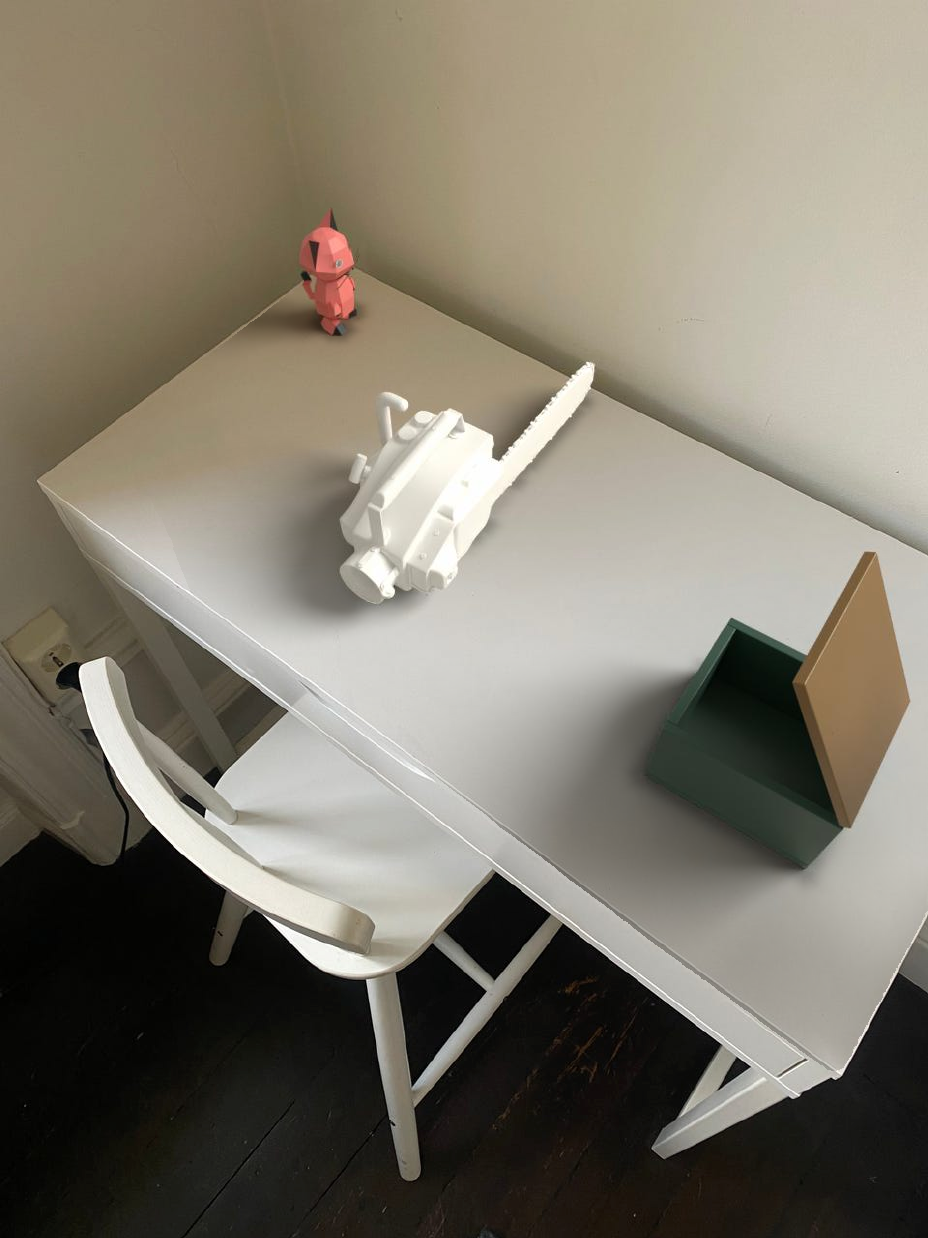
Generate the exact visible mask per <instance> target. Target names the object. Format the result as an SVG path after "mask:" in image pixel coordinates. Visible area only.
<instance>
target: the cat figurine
mask: <svg viewBox="0 0 928 1238" xmlns="http://www.w3.org/2000/svg"><path fill="white" fill-rule="evenodd" d="M337 226H338V225H337V223H336V220H335V216H334V212H333V209H332V207H329V209H328V211H327V212H326V213H325V215H324V217H323V218H322V219H321V221H320V223H319V224H318V226H317V227H316V228H315V229H314V230H313V231H312V232H310V233H309V234H307V235H306V236H305V237H304V238H302V241H301V244H300V248H299V260H298V263H299V265H300V266H301V267H302V268H303V269H304V270H302V271H301V272H300V274H299V275H300V277H301V278H302V280H303V281H302V284H301V285H302V287H303V289H304V291H305V293H306V295H307V297H308V298H309V299H310V300H313V301H314V303H315V304H314V305H315V309H316V312H317V313H316V314H318V315H321V316H323V317H322V319H321V322H320V325H321V327H322V329H323V330H325V332H327V333H328V334H330V335H331V336H344V335H345V334H346V333H347V332H348V330H347V327H346V326H345V324H344V323H343V322H342V320H341V319H345V320H346V319H351V318H353V317H355V316H357V315H358V310H357V309H356V308H355V297H354V296H355V294H354V292H355V291H356V286H355V281H354V278H352V277H349V276H350V274H351V273H352V271H354V269H355V267H356V266H355V267H354V265H355V263H358V260H359V257H360V255H358V254H360V253H359V248H357V250H356V252H357V253H356V255H355V258H356V260H355V262H354V257H353V252H352V249H351V246H350V245H351V242H350V241H349V242H348V241H347V239H346V237H345V235H344V234H342V233H341V232H339V230H338V227H337ZM357 255H358V256H357ZM351 270H352V271H351ZM309 274H310V275H312V276H313V277H315V278H316V279H315V284H314V291H313V290H312V286H311V283H312V281H313V280H312V277H311V276H310V275H309Z"/></svg>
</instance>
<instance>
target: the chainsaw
mask: <svg viewBox="0 0 928 1238" xmlns="http://www.w3.org/2000/svg"><path fill="white" fill-rule="evenodd" d="M595 366H596V364H595V363H593V362H591V361H586V362H585V364H584V365H582V366H581V368H579V369H577V370H576V371H575V374H571V376H570V377H571V378H570V379H569V380H568V381H566V382H565V384H564V386H562V387H561V389H560V390H559V391H557V392H556V393H555V396H552V397H551V398H550V400H551V401H549V402H548V404H546V405H545V407H544V408H543V410H542V411H541V412H540V413H539V414H538V415H536V417H535V418H534V420H531V421H530V422H529V424H530V425H529V426H528V427H527V428H525V429H524V430H523V433H521V435H520V436H519V438H518V439H517V440H515V441H514V442H513V443H512V446H509V447H508V448H507V451H506V452H505V454H503V455H502V456H501V458H500V460H498V459H495V458H493V448H494V446H495V444H494V436H493V434H490V433H489V432H486V431H485V430H482V429H480V428H479V427H477V426H474V425H472V424H470V423H468V422H467V421H464V416H463V413H461V412H459V411H457V410H455V409H453V408H451V407H450V408H448V409H447V410H444V411H439V412H438V414H435V413H432V412H429V411H427V410H420V411H417V412H416V413H415V414H414V415H413V416H412V417H410V418H409V419H408V420H407V421H406V422H405V423H404V424H403V425H402V426H401V427H400V428H399V429H398V430H397V431H396V432H395V434H393V429H392V418H391V409H393V410H394V411H397V412H399V413H404V412H406V411H407V410H408V408H409V403H408V400H406V399H405V398H404V397H401V396H400V395H398V394H395V393H393V392H389V391H383V392H380V393H379V394H378V395H377V396H376V398H375V412H376V419H377V420H376V421H377V427H378V435H379V440H380V441H379V442H380V445H381V446H382V447H380V449H378V450H377V451H375V452H373V454H372V455H371V456H370V457H369V458H368V456H367V455H365V454H362V453H357V454H356V455H355V459H354V461H353V464H352V465H351V471H350V474H349V476H348V481H349V482H350V483H352V484H355V485H357V484H359V487H360V488H359V490H358V491H357V494H356V495H355V497H354V499H353V500H352V502H351V504H350V505H349V506H348V508H347V509H346V511H345V512H344V513H343V514H342V515H341V517H340V518H339V523H340V527H341V531H342V535H343V537H344V540H345V541H346V543H348V544H349V545H350V546H352V547H353V550H354V552H353V553H352V554H351V555H350V556H349V557H347V559H346V560H345V561H344V562H343V563H342V564H341V565H340V567H339V574H340V576H341V577H340V578H341V579H342V580H343V582H344V584H346V586H347V588H349V589H350V590H351V591H352V592H353V593H354V594H355V595H356V596H357V597H359V598H361V599H362V600H364V601H365V602H368V603H370V604H375V605H379V604H381V603H382V602H383V601H384V600H386V599H387V600H388V599H392V598H393V597H394V595H395V592H396V591H395V588H394V586H396V587H397V588H400V589H401V590H402V591H405V592H409V591H411V590H412V589H413V588H414V589H415V590H417V591H419V592H420V593H422V594H424V595H425V596H430V595H431V594H432V593H433V592H434V591H435V589H437V590H440V591H444V590H445V589H446V588H447V587H448V586H449V585H450V584H451V582H452V581H453V580H454V579H455V578H456V576H457V575H458V570H459V569H458V568H459V567H458V563H459V561H460V560H461V559H462V558H463V557H464V555H465V554H466V553H467V552H468V551H469V548H471V545H472V543H473V542H474V540H475V538H476V537H477V536H478V535H479V534H480V532H482V531H483V530H484V528H485V527H486V525H487V523H488V521H489V518H490V516H491V512H492V507H493V505H494V504H495V502H496V501H497V500H498V499H499V497H500V496H501V495H503V494H504V493H505V490H506V489H508V488H509V487H511V486H512V485H513V482H515V481H516V479H517V478H518V476H519V475H520V474H521V473H522V472H523V471H525V469H526V467H527V466H528V465H529V464H531V463H533V460H534V459H535V458H537V455H538V454H539V453H540V451H542V450H543V449H544V448H545V447H546V445H547V444H548V443H549V442H550V441H552V440H553V437H555V435H556V434H557V432H559V430H560V429H561V427H562V426H565V423H566V422H567V420H568V419H569V418H572V416H573V415H572V414H574V413H575V412H576V410H577V408H578V407H579V406H580V405H581V404H582V402H583V401H584V399H585V397H586V396H587V394H588V392H589V391H590V390H591V388H592V387H591V386H592V384H593V381H594V375H595ZM390 408H391V409H390Z"/></svg>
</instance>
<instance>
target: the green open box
mask: <svg viewBox="0 0 928 1238" xmlns="http://www.w3.org/2000/svg"><path fill="white" fill-rule="evenodd" d="M720 632H721V633H720V634H719V635H718V637H717V639H716V640H715V642H714V644H713V645H712V646H711V649H710V650H709V651H708V653H707V655H706V657H705V658H704V659H703V661H702V662H701V665H700V666H699V668H698V669H697V671H696V672H695V674H694V675H693V677H692V679H691V681H690V682H689V684H688V685H687V687H686V689H685V690H684V691H683V693H682V695H681V697H680V698H679V700H678V702H677V703H676V704H675V705H674V708H673V709H672V712H671V713H670V714H669V716H668V718H667V719H666V721H665V722H664V724H663V725H662V727H661V729H660V732H659V735H658V737H657V739H656V742H655V745H654V748H653V750H652V754H651V755H650V758H649V762H648V764H647V767H646V769H645V773H644V776H645V777H646V778H649V779H650V780H651V781H653V782H655V783H657V784H659V785H660V786H661V787H664V788H665V789H667V790H668V791H671V792H672V793H673V794H675V795H677V796H679V797H681V798H682V799H684V800H686V801H687V802H689V803H691V804H693V805H695V806H696V807H698V808H700V809H702V810H704V811H705V812H706V813H708V814H710V815H712V816H713V817H715V818H717V819H718V820H719V821H722V822H723V823H726V824H727V825H729V826H731V827H732V828H734V829H736V830H737V831H739V832H741V833H742V834H745V835H746V836H748V837H749V838H751V839H753V840H755V841H756V842H758V843H760V844H761V845H763V846H764V847H767V848H768V849H770V850H772V851H774V852H775V853H777V854H778V855H780V856H782V857H784V858H785V859H787V860H789V861H790V862H792V863H794V864H796V865H797V866H799V867H801V868H803V869H804V870H806V869H808V868H809V867H810V866H811V864H812V863H814V861H815V860H816V859H817V858H818V857H819V856H820V855H821V854H822V853H823V852H824V851H825V849H826V848H827V847H828V846H829V845H830V844H831V843H832V842H833V841H834V840H835V839H836V838H837V837H838V835H840V834H841V832H842V831H844V828H845V827H842V826H840V825H839V823H838V820H837V817H836V814H835V810H834V807H833V804H832V801H831V798H830V795H829V792H828V789H827V786H826V783H825V780H824V777H823V774H822V771H821V768H820V765H819V762H818V759H817V756H816V753H815V750H814V747H813V744H812V741H811V738H810V735H809V732H808V729H807V726H806V723H805V720H804V717H803V714H802V711H801V708H800V705H799V702H798V699H797V696H796V693H795V690H794V686H793V683H792V682H793V680H794V678H795V676H796V675H797V673H798V671H799V669H800V667H801V666H802V664H803V662H804V660H805V658H806V657H807V655H808V654H805V653H803V652H801V651H799V650H797V649H795V648H793V647H791V646H789V645H787V644H786V643H783V642H781V641H779V640H777V639H775V638H773V637H771V636H769V635H767V634H766V633H764V632H762V631H759V630H757V629H755V628H753V627H752V626H749V625H747V624H746V623H743V622H741V621H740V620H738V619H736V618H733V617H730V618H729V619H728V621H727V623H726V625H725V626H724V627H723V629H722V631H720Z"/></svg>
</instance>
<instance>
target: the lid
mask: <svg viewBox="0 0 928 1238" xmlns="http://www.w3.org/2000/svg"><path fill="white" fill-rule="evenodd" d="M806 655H807V657H806V658H805V660H804V662H803V664H802V666H801V667H800V669H799V671H798V673H797V675H796V676H795V678H794V680H793V682H792V683H793V686H794V690H795V693H796V696H797V699H798V702H799V705H800V708H801V711H802V714H803V717H804V720H805V723H806V726H807V729H808V732H809V735H810V738H811V741H812V744H813V747H814V750H815V753H816V756H817V759H818V762H819V765H820V768H821V771H822V774H823V777H824V780H825V783H826V786H827V789H828V792H829V795H830V798H831V801H832V804H833V807H834V810H835V814H836V817H837V820H838V823H839V825H840V826H842V827H844V828H847V829H849V830H850V829H852V828H853V825H854V823H855V821H856V818H857V817H858V814H859V812H860V810H861V808H862V806H863V803H864V801H865V799H866V797H867V795H868V793H869V790H870V789H871V786H872V784H873V782H874V780H875V778H876V776H877V773H878V772H879V770H880V767H881V765H882V763H883V761H884V759H885V757H886V755H887V752H888V750H889V748H890V746H891V744H892V742H893V739H894V737H895V735H896V734H897V731H898V729H899V727H900V725H901V722H902V721H903V718H904V716H905V714H906V712H907V710H908V707H909V705H910V703H911V698H910V694H909V689H908V685H907V681H906V676H905V672H904V671H905V670H904V668H903V663H902V657H901V654H900V649H899V645H898V641H897V635H896V631H895V627H894V622H893V618H892V613H891V609H890V604H889V600H888V596H887V592H886V588H885V583H884V579H883V573H882V570H881V565H880V560H879V556H878V552H877V551H866V550H865V551H864V552H863V554H862V555H861V558H860V559H859V561H858V563H857V564H856V566H855V568H854V570H853V572H852V573H851V575H850V577H849V579H848V581H847V582H846V584H845V586H844V588H843V590H842V592H841V593H840V595H839V597H838V599H837V601H836V602H835V605H834V606H833V608H832V610H831V611H830V614H829V615H828V617H827V619H826V621H825V622H824V623H823V626H822V627H821V629H820V631H819V632H818V635H817V637H816V638H815V640H814V642H813V644H812V646H811V648H810V649H809V651H808V652H807V654H806Z"/></svg>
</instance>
